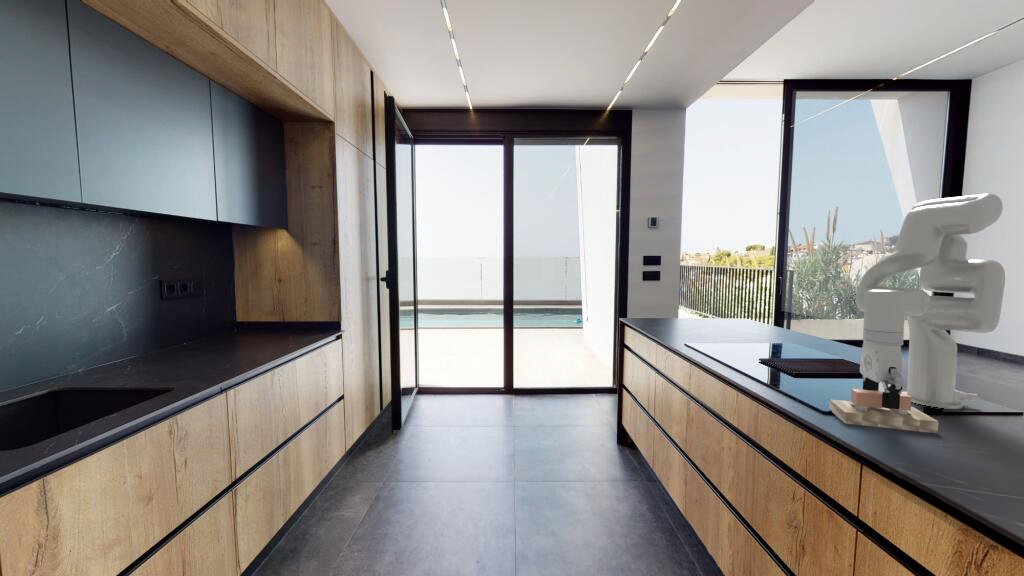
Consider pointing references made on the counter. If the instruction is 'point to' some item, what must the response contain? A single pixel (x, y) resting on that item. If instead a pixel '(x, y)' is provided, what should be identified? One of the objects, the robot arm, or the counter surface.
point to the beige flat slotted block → (883, 417)
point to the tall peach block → (877, 400)
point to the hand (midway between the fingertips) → (879, 401)
